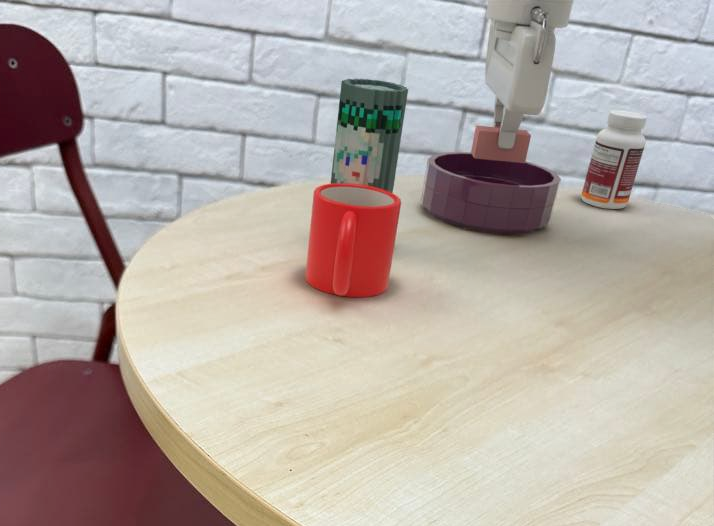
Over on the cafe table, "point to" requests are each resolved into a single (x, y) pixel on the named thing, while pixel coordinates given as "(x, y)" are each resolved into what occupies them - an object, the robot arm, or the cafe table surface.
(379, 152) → the can
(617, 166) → the pill bottle
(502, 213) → the bowl
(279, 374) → the cafe table surface
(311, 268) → the mug
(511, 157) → the eraser
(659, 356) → the cafe table surface
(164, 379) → the cafe table surface
